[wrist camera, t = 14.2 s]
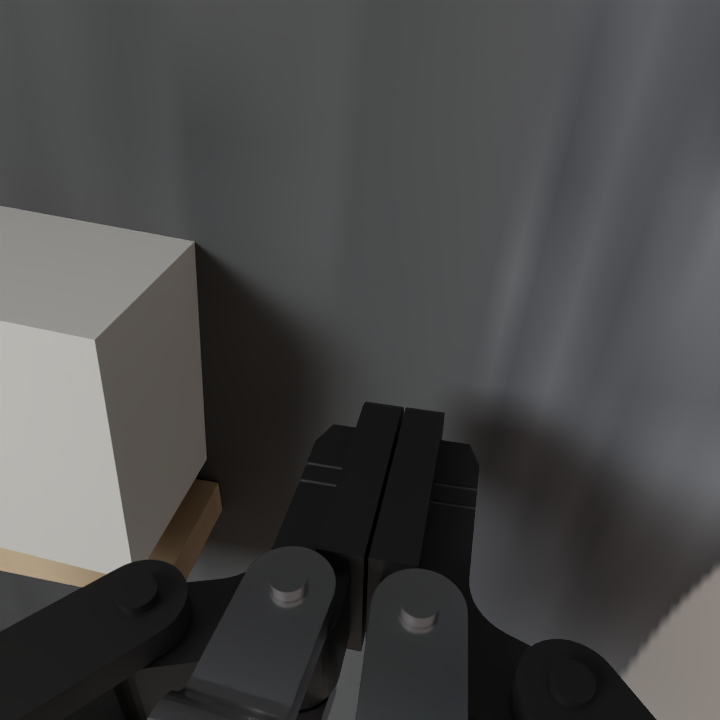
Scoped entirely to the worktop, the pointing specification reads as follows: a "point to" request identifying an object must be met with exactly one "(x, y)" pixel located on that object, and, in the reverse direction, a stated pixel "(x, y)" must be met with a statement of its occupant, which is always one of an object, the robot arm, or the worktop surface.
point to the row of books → (173, 547)
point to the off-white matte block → (95, 388)
